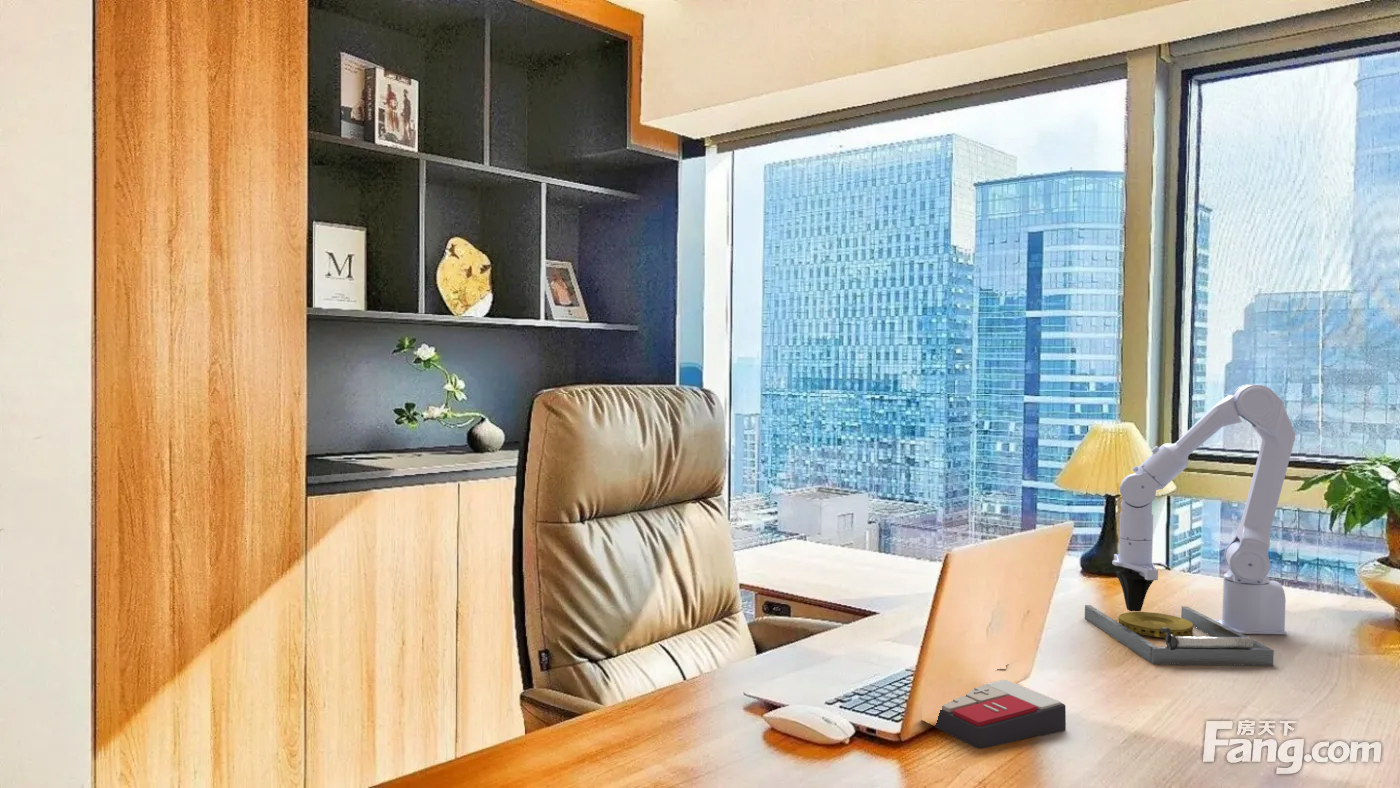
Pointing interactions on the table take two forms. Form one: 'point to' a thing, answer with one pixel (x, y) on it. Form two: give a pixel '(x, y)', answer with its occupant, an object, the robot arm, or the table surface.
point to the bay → (1184, 654)
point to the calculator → (1001, 715)
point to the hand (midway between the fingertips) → (1133, 610)
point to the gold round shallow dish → (1155, 624)
